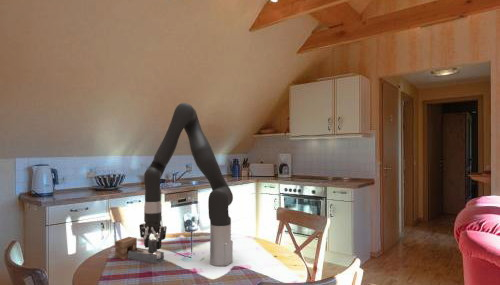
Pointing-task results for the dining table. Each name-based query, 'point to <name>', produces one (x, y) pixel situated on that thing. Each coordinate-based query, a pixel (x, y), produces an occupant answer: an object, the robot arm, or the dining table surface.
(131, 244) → the walnut socket block
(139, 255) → the metal channel
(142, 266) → the dining table surface
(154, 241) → the grey slider with post
